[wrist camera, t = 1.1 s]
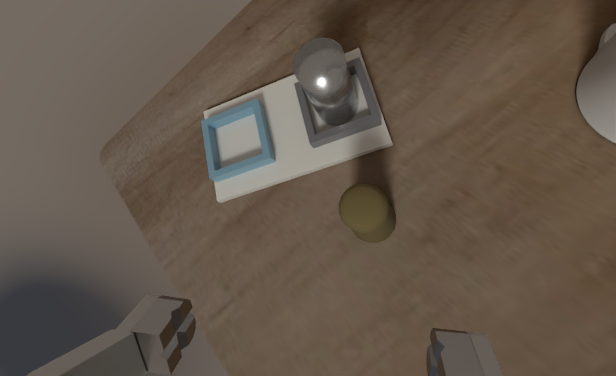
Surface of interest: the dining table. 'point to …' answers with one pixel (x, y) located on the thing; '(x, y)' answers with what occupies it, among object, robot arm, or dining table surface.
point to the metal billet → (326, 80)
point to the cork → (367, 212)
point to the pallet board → (286, 134)
